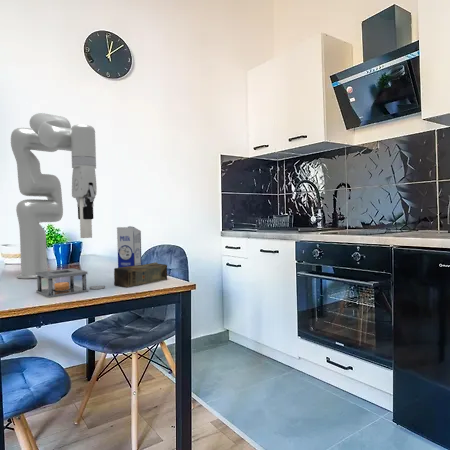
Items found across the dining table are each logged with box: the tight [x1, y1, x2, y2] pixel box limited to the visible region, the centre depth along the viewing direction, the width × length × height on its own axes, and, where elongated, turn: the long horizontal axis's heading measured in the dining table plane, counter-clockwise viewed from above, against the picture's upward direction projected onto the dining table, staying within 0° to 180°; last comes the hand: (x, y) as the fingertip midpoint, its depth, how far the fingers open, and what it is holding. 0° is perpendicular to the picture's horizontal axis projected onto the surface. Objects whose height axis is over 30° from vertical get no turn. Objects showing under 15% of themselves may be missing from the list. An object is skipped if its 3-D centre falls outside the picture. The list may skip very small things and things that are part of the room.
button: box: [53, 281, 70, 292], centre depth 122 cm, size 4×4×2 cm
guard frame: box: [35, 267, 89, 298], centre depth 122 cm, size 12×12×6 cm
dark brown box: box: [113, 261, 168, 288], centre depth 137 cm, size 8×19×7 cm, turn 143°
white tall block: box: [79, 195, 93, 239], centre depth 125 cm, size 4×4×16 cm
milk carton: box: [116, 225, 143, 268], centre depth 150 cm, size 7×7×20 cm
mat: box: [89, 285, 106, 291], centre depth 127 cm, size 5×5×1 cm
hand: (85, 218), depth 125 cm, fingers closed on white tall block, 3 cm apart
